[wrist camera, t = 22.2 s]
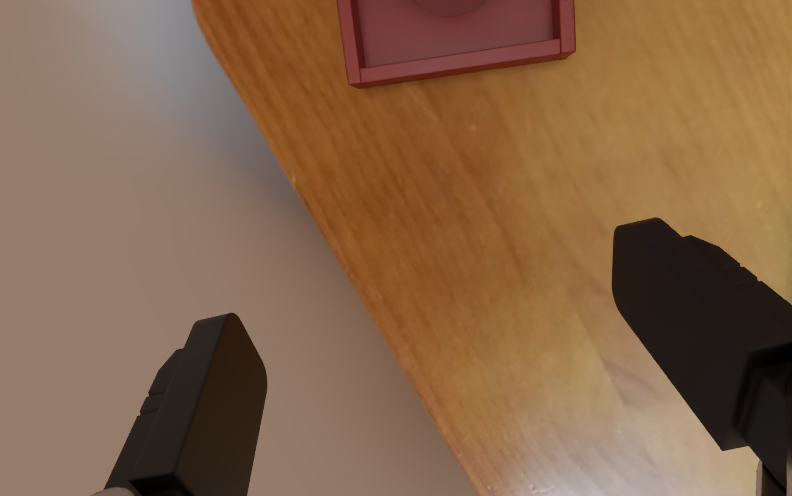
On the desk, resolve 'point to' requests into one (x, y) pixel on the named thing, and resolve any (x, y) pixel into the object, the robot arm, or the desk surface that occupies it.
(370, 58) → the red tray
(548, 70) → the desk surface
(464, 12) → the red cup
